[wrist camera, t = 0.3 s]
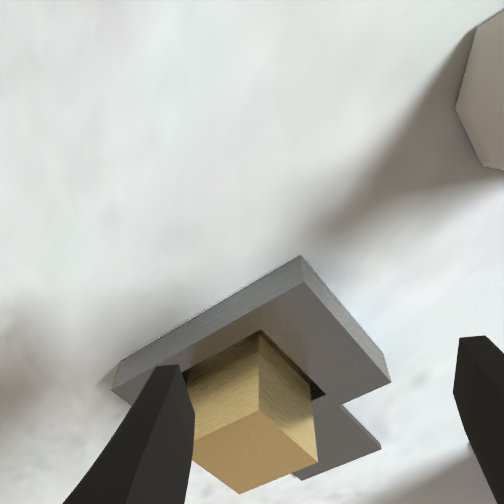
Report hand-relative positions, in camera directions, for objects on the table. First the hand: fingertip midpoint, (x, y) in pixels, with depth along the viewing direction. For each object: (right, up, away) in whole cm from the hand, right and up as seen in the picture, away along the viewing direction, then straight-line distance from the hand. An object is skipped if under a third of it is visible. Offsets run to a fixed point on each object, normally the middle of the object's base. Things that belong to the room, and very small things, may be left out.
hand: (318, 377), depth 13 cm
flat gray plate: (+2, -8, +18) cm, 20 cm away
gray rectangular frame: (-2, -2, +14) cm, 14 cm away
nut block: (-2, -2, +14) cm, 14 cm away
